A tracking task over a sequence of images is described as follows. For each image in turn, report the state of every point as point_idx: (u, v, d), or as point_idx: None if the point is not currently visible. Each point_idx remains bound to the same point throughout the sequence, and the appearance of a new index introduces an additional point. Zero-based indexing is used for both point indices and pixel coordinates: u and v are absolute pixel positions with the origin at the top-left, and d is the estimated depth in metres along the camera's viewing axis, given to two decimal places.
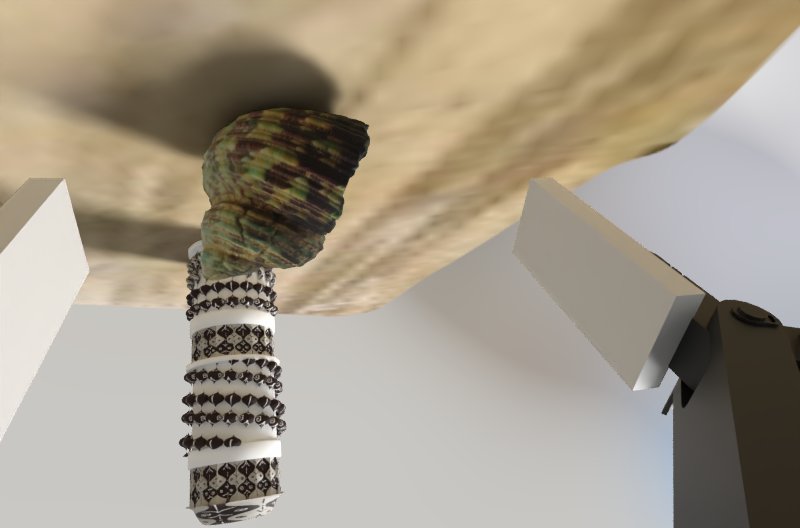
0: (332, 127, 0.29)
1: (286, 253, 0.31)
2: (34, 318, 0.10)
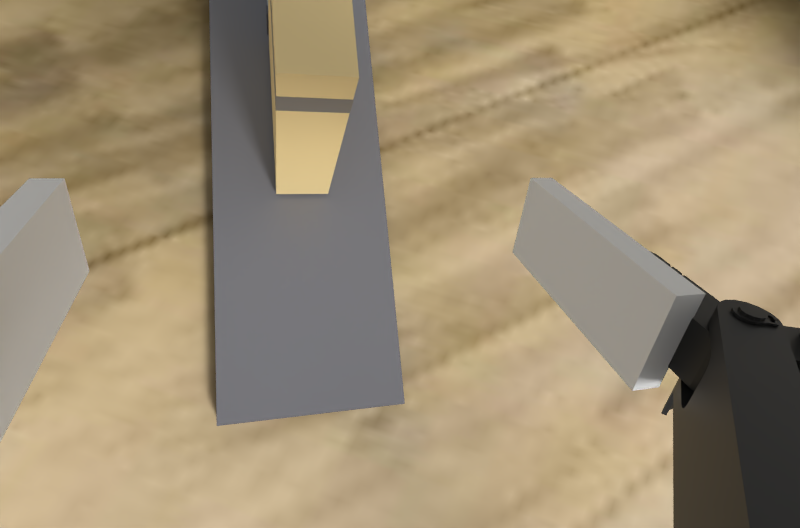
0: None
1: None
2: (34, 318, 0.10)
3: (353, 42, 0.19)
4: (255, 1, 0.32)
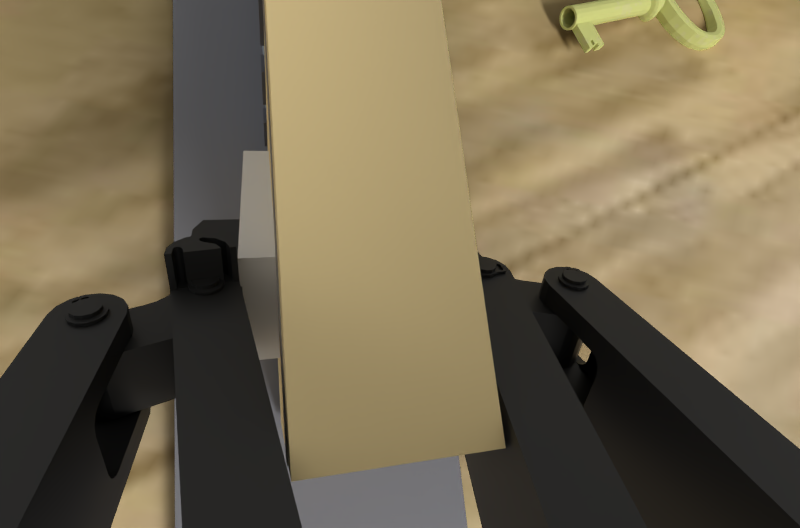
0: None
1: None
2: None
3: (485, 343, 0.07)
4: (246, 89, 0.20)
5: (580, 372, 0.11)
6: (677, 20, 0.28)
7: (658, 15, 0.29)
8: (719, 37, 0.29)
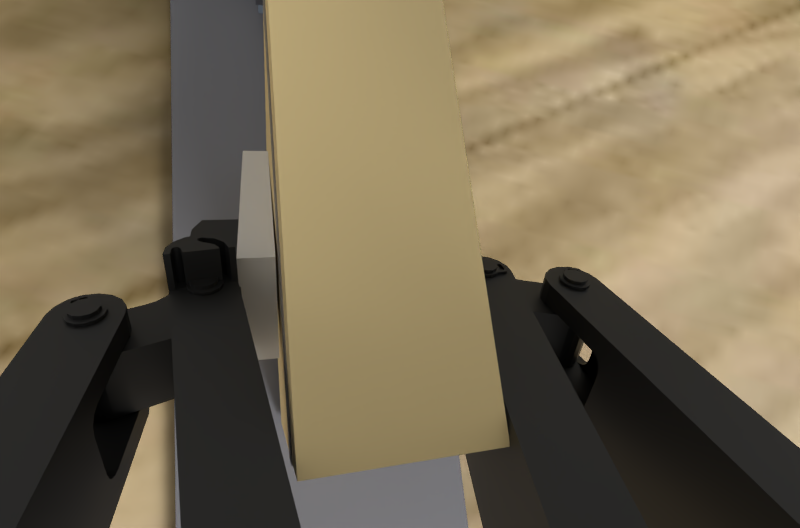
0: None
1: None
2: None
3: (489, 342, 0.07)
4: None
5: (581, 372, 0.11)
6: None
7: None
8: None
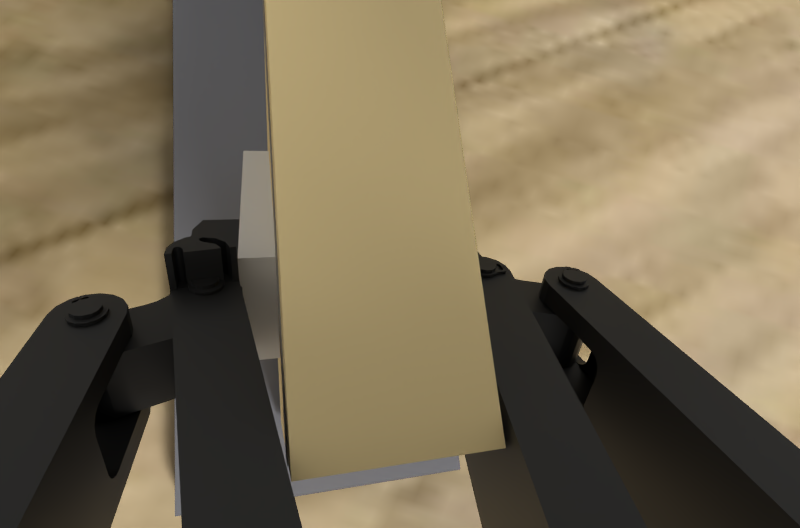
0: None
1: None
2: None
3: (485, 343, 0.07)
4: None
5: (580, 372, 0.11)
6: None
7: None
8: None
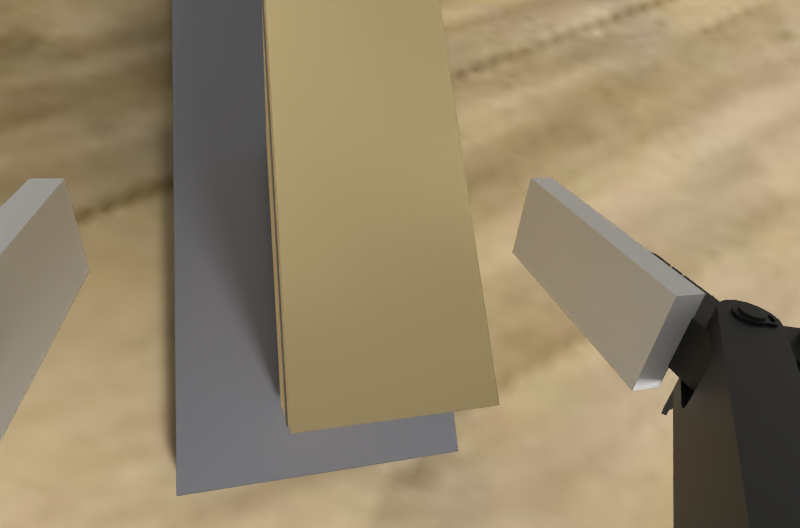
0: None
1: None
2: (34, 318, 0.10)
3: (479, 305, 0.08)
4: None
5: None
6: None
7: None
8: None
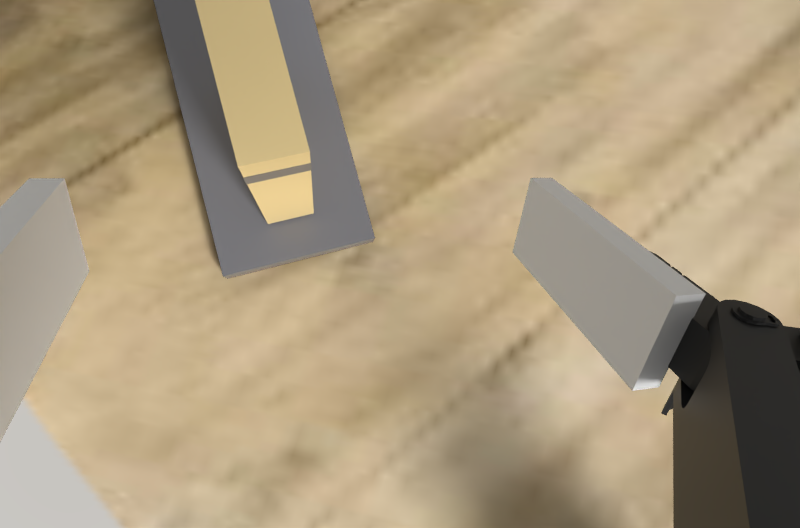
0: None
1: None
2: (34, 318, 0.10)
3: (298, 118, 0.21)
4: None
5: None
6: None
7: None
8: None
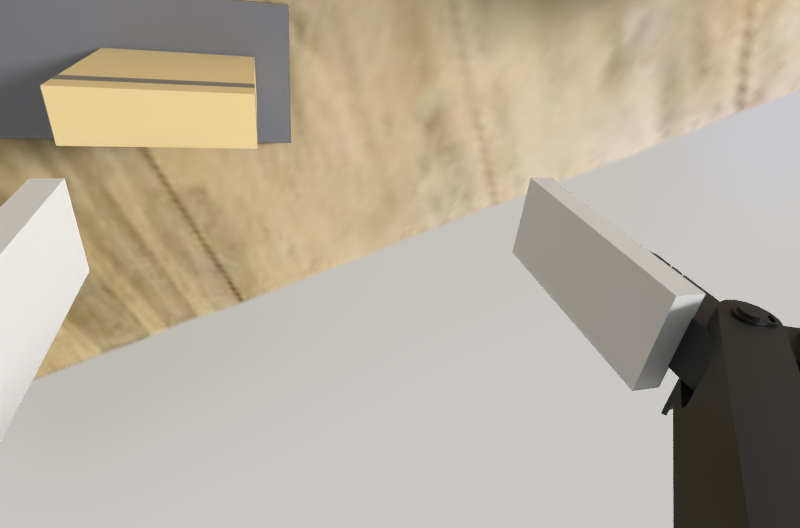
0: None
1: None
2: (34, 318, 0.10)
3: (225, 94, 0.26)
4: None
5: None
6: None
7: None
8: None
